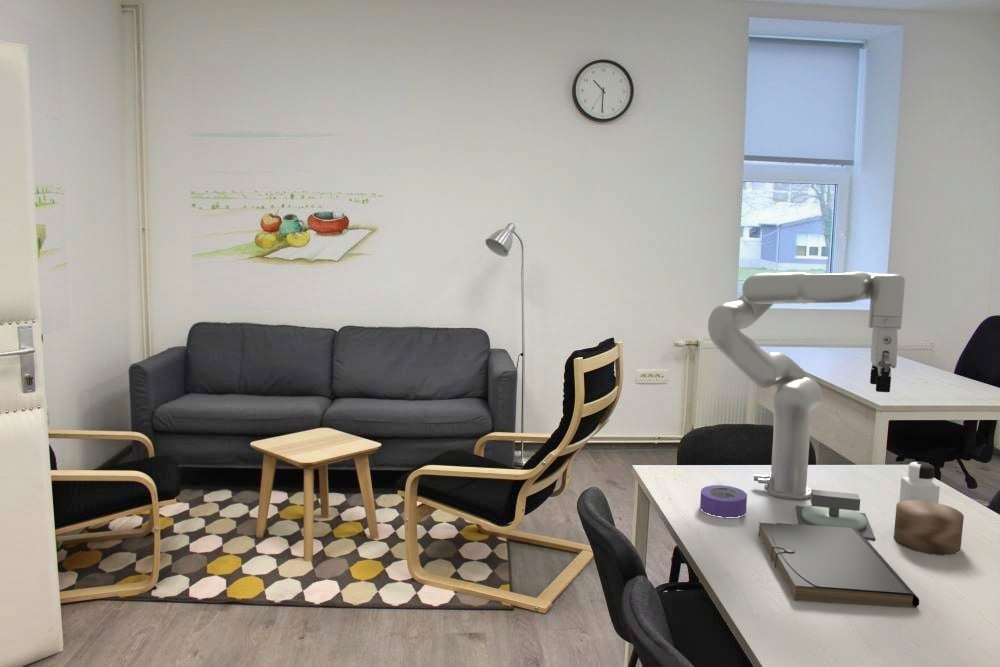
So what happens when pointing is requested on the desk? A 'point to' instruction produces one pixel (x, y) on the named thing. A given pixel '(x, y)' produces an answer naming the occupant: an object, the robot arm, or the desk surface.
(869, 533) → the mat
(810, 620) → the desk surface
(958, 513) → the canister
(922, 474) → the medicine bottle
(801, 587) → the file folder
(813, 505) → the cover
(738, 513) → the tape roll
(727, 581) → the desk surface
